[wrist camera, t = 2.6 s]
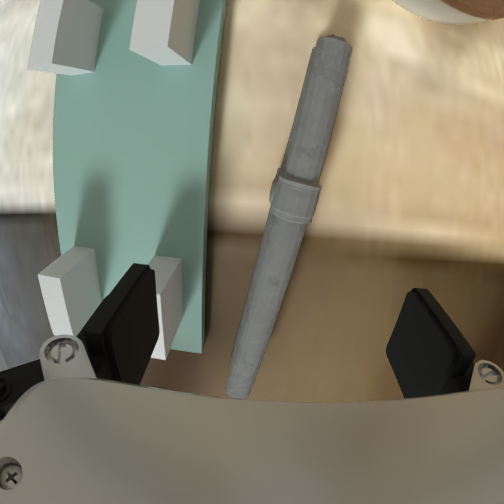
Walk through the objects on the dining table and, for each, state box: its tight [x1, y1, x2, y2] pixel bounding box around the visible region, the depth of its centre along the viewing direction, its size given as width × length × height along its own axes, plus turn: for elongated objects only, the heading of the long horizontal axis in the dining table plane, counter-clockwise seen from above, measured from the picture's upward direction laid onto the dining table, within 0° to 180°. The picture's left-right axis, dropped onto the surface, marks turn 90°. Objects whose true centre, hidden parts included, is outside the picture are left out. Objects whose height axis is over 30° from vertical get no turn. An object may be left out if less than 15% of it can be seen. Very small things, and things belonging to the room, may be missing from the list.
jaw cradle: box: [28, 0, 227, 360], centre depth 17 cm, size 12×30×6 cm, turn 175°
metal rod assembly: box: [225, 35, 352, 399], centre depth 20 cm, size 26×3×5 cm, turn 167°
